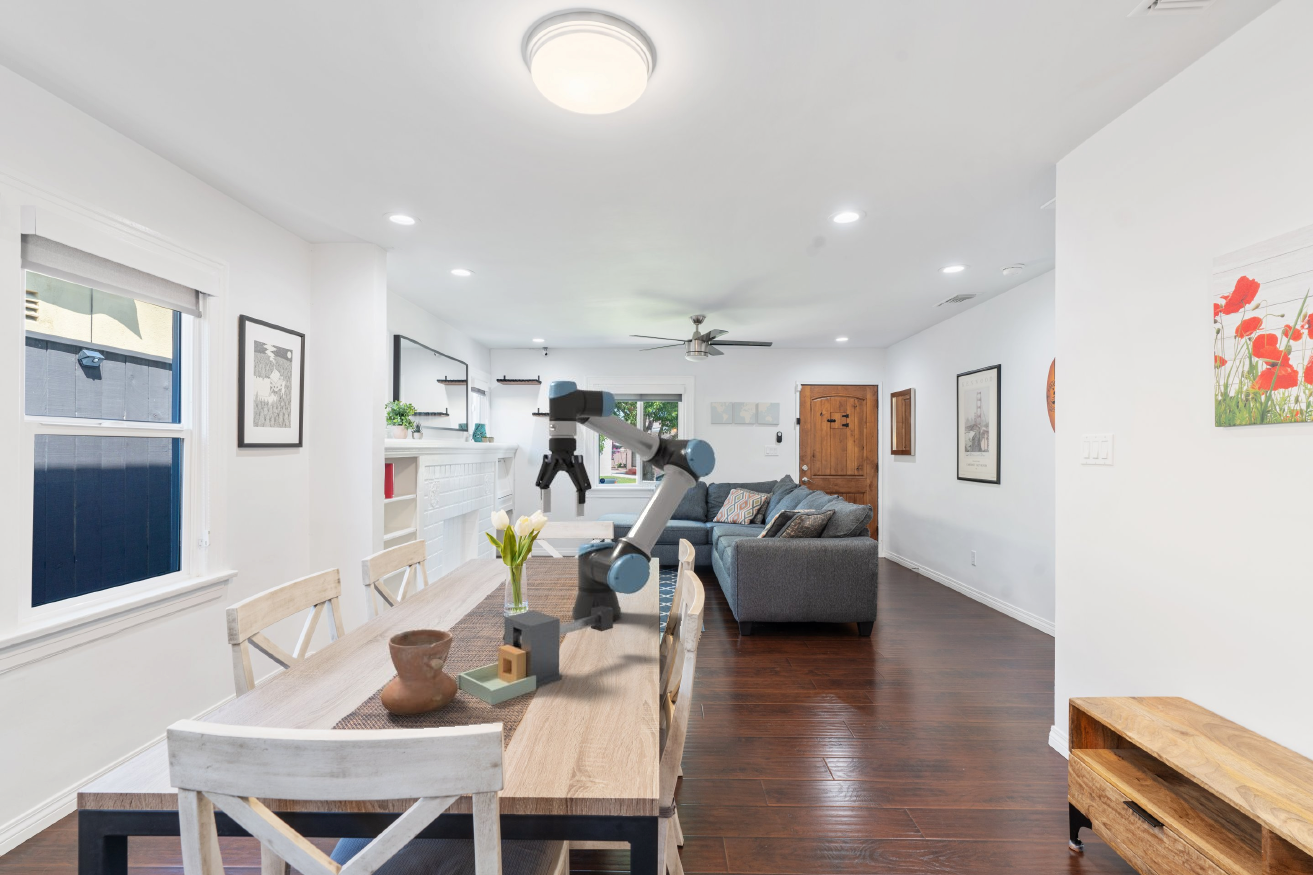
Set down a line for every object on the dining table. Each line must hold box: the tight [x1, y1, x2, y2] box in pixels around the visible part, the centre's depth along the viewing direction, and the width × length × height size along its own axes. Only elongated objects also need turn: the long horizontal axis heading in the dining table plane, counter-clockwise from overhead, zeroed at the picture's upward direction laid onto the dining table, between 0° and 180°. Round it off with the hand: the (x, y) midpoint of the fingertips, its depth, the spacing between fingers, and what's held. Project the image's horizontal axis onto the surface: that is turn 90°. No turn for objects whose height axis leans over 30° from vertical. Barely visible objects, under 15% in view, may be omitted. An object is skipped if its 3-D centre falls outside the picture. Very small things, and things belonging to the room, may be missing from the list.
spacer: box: [497, 645, 526, 683], centre depth 136 cm, size 2×7×7 cm, turn 48°
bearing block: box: [503, 610, 563, 689], centre depth 140 cm, size 8×12×14 cm, turn 48°
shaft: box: [517, 606, 614, 646], centre depth 148 cm, size 27×4×5 cm, turn 138°
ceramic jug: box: [380, 628, 459, 717], centre depth 124 cm, size 18×14×14 cm
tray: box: [456, 661, 537, 706], centre depth 133 cm, size 11×13×3 cm
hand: (562, 514), depth 168 cm, fingers open, 13 cm apart
